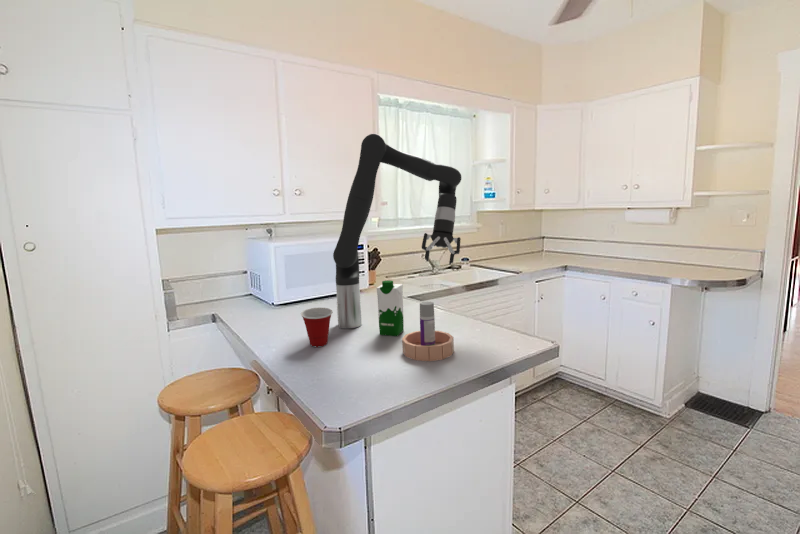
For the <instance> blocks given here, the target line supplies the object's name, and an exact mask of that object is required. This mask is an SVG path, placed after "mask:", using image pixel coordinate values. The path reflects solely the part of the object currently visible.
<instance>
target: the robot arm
mask: <svg viewBox="0 0 800 534" xmlns="http://www.w3.org/2000/svg"><path fill="white" fill-rule="evenodd" d="M381 163H382V164H386V165H389V166H393V167H395V168H397V169H401V171H405V172H407V173H409V174H411V175H414V176H415V177H418V178H421V179H422V180H424V181H425V180H426V181H428V182H432V181H438V200H437V204H436V205H437V206H436V211H435V214H434V223H433V229H432V233H431V234H428V233H427V232H425V233H424V234H423V239H422V243H421V249H422V251H425V255H424V259H425V262H427V263H428V262H429V261H430V252H431V250H432V249H434V248H435V247H436V248H443V249H445V248H447V250H448V251H449V253H450V256H449V263H448V265H450V266H451V265H452V264H453V263H454V259H455V256H456V255H459V254H460V251H461V240H462V239H461V237H459V236H457V237H454V236H453V235H454V229H455V228H454V227H455V221H456V209H457V201H458V200H457V197H456V190H457V187H458V185H459V184H460V183H461V181H462V174H461V173H460V171H459V170H458V169H456V167H453V166H449V165H444V164H439V163H435V162H433V161H431V160H427V159H426V158H423V157H420V156H418V155H415V154H410V153H407V152H404V151H401V150H399V149H397V148H395V147H392V146H391V145H389V144H387V143H386V142H385V139H384V138H383V137H382V136H381V135H380V134H378V133H370V134H367V136H365V137H364V138H363V139H362V141H361V145H360V154H359V160H358V165H357V170H356V173H355V175H354V177H353V181H352V184H351V186H350V190H349V193H348V197H347V202H346V205H345V209H344V215H343V221H342V226H341V227H342V228H341V231H340V234H339V238H338V241H337V243H336V245H335V247H334V250H333V252H332V257H333V262H334V263H335V290H336V313H337V315H336V316H337V326H338V329H354V328H358V327H361V326H362V325H363V324H362V307H361V291H360V290H361V289H360V262H359V261H360V260H359V259H360V257H359V251H358V249H359V243H360V238H361V234H362V231H363V229H364V227H365V224H366V223H367V221H368V217H369V214H370V212H371V207H372V204H373V200H374V197H375V196H374V195H375V190H376V189H375V187H376V180H377V174H378V170H379V167H380V165H381ZM428 240H431V241H432V242H431V243H430V244H429V245H428V246H426V245H427V241H428ZM452 242H454V244H456V250H454V249H453V246H452Z"/></svg>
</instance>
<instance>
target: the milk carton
mask: <svg viewBox="0 0 800 534" xmlns="http://www.w3.org/2000/svg"><path fill="white" fill-rule="evenodd" d="M403 287H404V286H403V283H401V284H400V283H394V280H390V279H388V280H382V281H381V284H380V285H379V286H377V287H376V295H377V296H376V297H377V310H378V311H377V313H378V314H377V315H378V316H377V317H378V329H379V335H380V336H390V337H398V336H400V335H401V333H403V331H404V329H405V328H404V322H405V321H404V298H403Z"/></svg>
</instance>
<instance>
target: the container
mask: <svg viewBox="0 0 800 534" xmlns="http://www.w3.org/2000/svg"><path fill="white" fill-rule="evenodd" d="M435 320H436V319H435V304H434V302H433V301H420V302H419V325H420V326H419V329H420V330H419V331H420V336H421V345H422V346H432V345H435V331H436V326H435V325H436V322H435Z"/></svg>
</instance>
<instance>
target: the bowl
mask: <svg viewBox="0 0 800 534" xmlns="http://www.w3.org/2000/svg"><path fill="white" fill-rule="evenodd" d="M454 339H455V338H454V336H453V335H451V334H450V333H449V332H446V331H442V330H435V345H432V346H422V345H421V336H420V330H417V331H412V332H409V333H407V334H405V335H404V336H403V337H402V338H401V345H402V353H403V354H404V356H405V357H406V358H408V359H411V360H414V361H421V362H422V361H423V362H434V361H442V360H445V359H447V358H449V357H451V356H452V355H453V353H454V352H455V351H454V350H455V347H454V346H455V345H454V343H455V342H454Z"/></svg>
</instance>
